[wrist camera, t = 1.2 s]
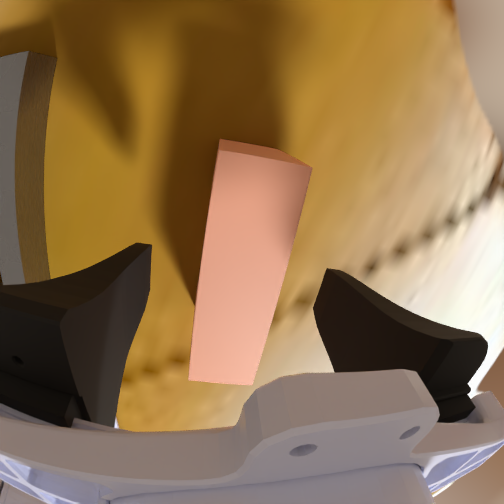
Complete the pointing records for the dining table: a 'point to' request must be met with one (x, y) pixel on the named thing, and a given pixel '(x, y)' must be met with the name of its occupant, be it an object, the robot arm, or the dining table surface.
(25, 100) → the gray block with cutout
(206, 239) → the tall salmon pink prism
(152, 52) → the dining table surface
